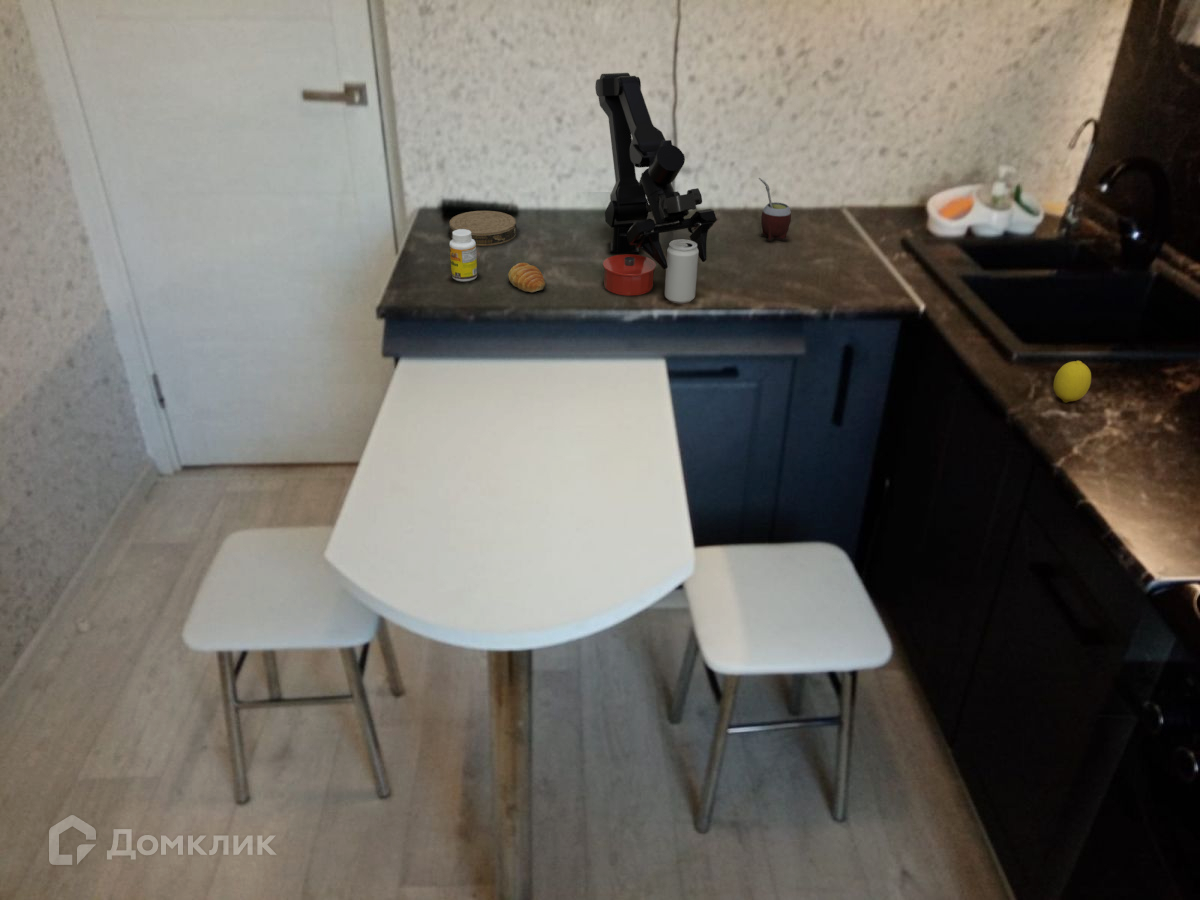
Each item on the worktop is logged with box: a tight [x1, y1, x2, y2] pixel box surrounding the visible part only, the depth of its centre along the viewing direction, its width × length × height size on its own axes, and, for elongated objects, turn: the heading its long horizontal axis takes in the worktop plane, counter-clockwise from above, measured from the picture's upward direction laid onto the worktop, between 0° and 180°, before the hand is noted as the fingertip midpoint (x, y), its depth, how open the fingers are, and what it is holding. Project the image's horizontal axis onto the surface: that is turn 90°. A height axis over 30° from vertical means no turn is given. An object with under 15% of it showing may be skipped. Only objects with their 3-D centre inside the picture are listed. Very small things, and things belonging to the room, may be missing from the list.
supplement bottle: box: [448, 229, 478, 283], centre depth 195 cm, size 6×6×10 cm
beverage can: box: [664, 239, 699, 305], centre depth 187 cm, size 6×6×12 cm
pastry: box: [507, 262, 546, 293], centre depth 193 cm, size 9×7×4 cm
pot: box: [603, 267, 655, 296], centre depth 194 cm, size 10×10×4 cm
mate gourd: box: [758, 177, 792, 243], centre depth 217 cm, size 8×8×15 cm
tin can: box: [449, 210, 517, 247], centre depth 219 cm, size 16×16×3 cm
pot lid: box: [602, 253, 657, 276], centre depth 193 cm, size 11×11×2 cm
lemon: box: [1052, 360, 1092, 403], centre depth 155 cm, size 6×6×8 cm
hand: (685, 264), depth 185 cm, fingers open, 9 cm apart
